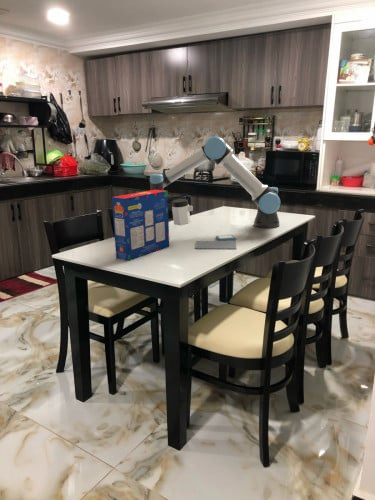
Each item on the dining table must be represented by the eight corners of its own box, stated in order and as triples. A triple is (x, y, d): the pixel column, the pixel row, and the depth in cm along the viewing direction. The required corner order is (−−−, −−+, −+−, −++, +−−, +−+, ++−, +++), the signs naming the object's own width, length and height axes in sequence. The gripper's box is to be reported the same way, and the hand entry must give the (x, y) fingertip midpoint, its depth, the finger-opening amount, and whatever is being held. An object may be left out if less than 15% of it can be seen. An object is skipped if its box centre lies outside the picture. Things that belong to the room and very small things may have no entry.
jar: (193, 222, 202) (191, 199, 198) (182, 226, 197) (180, 203, 193) (182, 220, 208) (179, 198, 205) (171, 224, 203) (168, 201, 199)
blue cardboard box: (157, 244, 197) (155, 189, 190) (169, 246, 193) (167, 190, 185) (116, 258, 176) (111, 197, 168) (128, 261, 172) (124, 198, 164)
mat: (235, 241, 200) (235, 240, 200) (236, 249, 186) (236, 248, 186) (196, 241, 201) (196, 240, 201) (195, 248, 188) (195, 248, 188)
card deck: (232, 238, 209) (232, 234, 208) (235, 241, 203) (235, 237, 202) (215, 239, 207) (215, 235, 207) (219, 242, 201) (219, 238, 201)
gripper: (177, 208, 223) (201, 214, 204) (156, 211, 215) (179, 217, 197) (176, 195, 221) (201, 200, 202) (155, 198, 213) (179, 203, 195)
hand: (190, 208), depth 200 cm, fingers closed on jar
